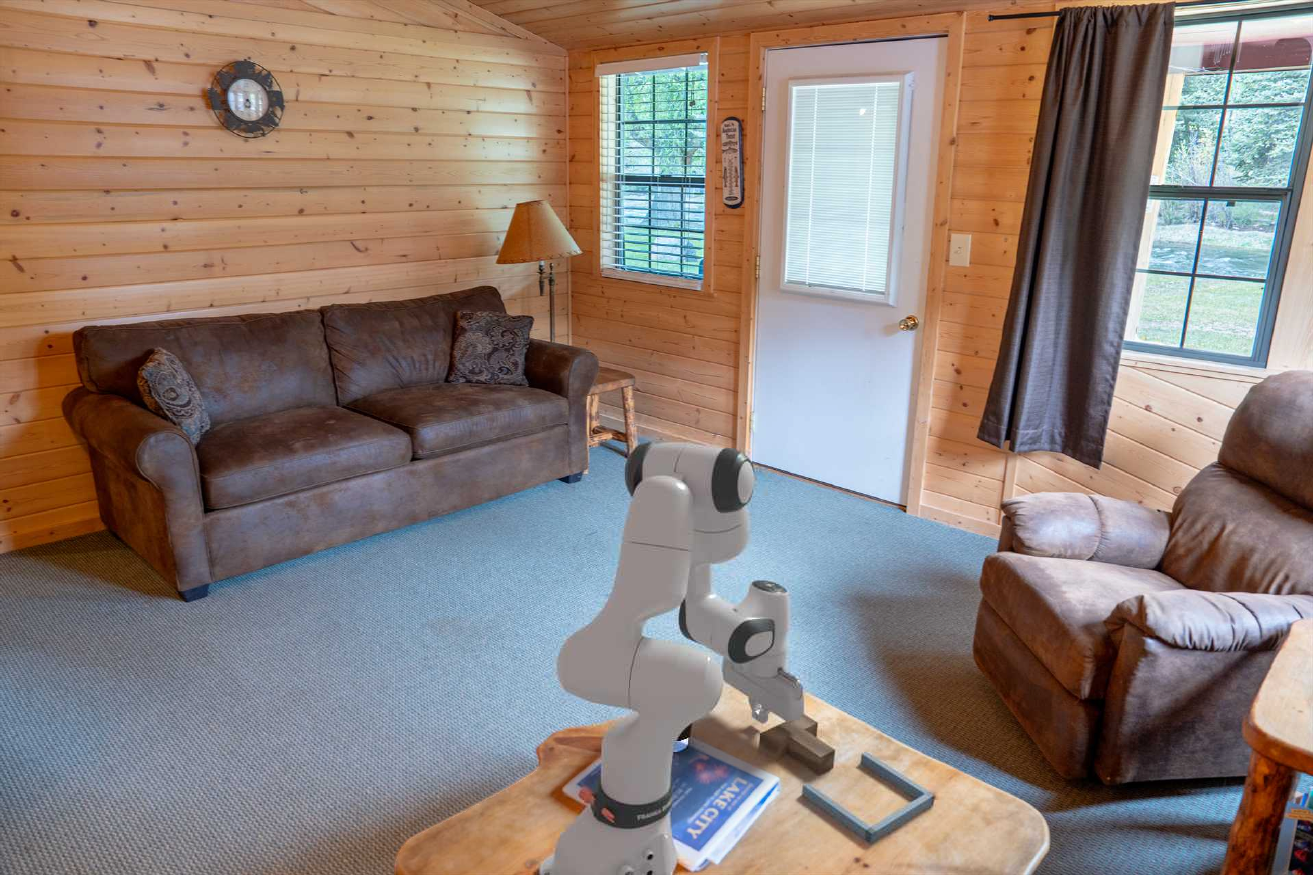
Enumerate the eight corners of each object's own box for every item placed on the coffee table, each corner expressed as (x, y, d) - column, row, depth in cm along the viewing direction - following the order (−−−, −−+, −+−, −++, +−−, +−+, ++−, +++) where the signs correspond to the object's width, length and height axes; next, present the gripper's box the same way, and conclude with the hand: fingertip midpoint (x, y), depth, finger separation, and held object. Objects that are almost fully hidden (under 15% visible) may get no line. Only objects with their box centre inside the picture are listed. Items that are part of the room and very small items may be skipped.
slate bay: (870, 843, 155) (871, 833, 154) (801, 794, 167) (802, 784, 166) (933, 804, 165) (934, 794, 165) (864, 760, 177) (865, 751, 177)
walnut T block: (804, 783, 170) (805, 764, 169) (758, 751, 179) (759, 733, 178) (847, 760, 177) (849, 742, 176) (801, 730, 186) (803, 713, 185)
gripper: (814, 676, 177) (808, 739, 181) (740, 633, 192) (736, 692, 196) (791, 686, 173) (785, 750, 177) (718, 642, 188) (714, 702, 192)
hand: (759, 719), depth 186 cm, fingers closed
